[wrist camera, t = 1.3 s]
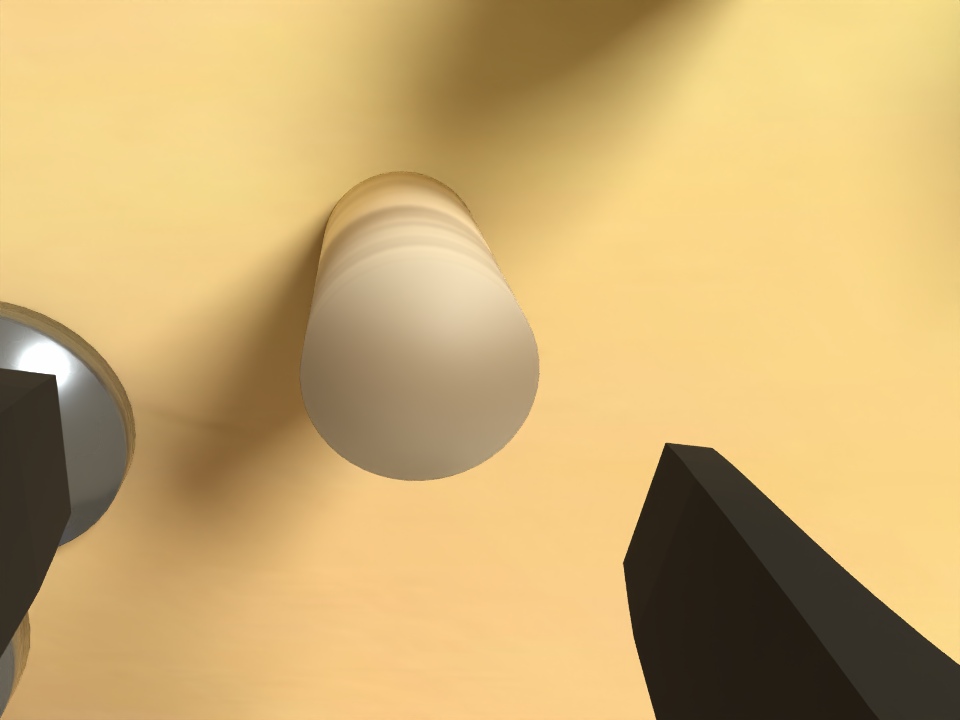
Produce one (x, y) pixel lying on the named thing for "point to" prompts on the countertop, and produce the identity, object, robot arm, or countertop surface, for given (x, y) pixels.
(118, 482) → the bobbin post
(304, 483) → the countertop surface
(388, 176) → the beige banded cylinder
